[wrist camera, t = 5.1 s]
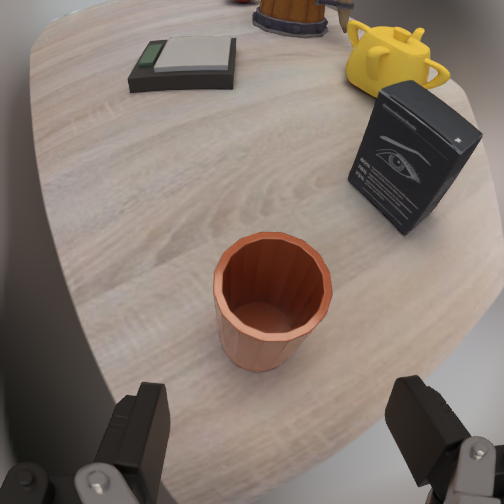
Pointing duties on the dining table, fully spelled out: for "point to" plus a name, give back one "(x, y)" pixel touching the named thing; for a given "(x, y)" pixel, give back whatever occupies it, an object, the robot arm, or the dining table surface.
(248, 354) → the cup
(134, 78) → the scale
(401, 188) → the box
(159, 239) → the dining table surface
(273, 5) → the mug
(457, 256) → the dining table surface
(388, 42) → the teapot
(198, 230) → the dining table surface
